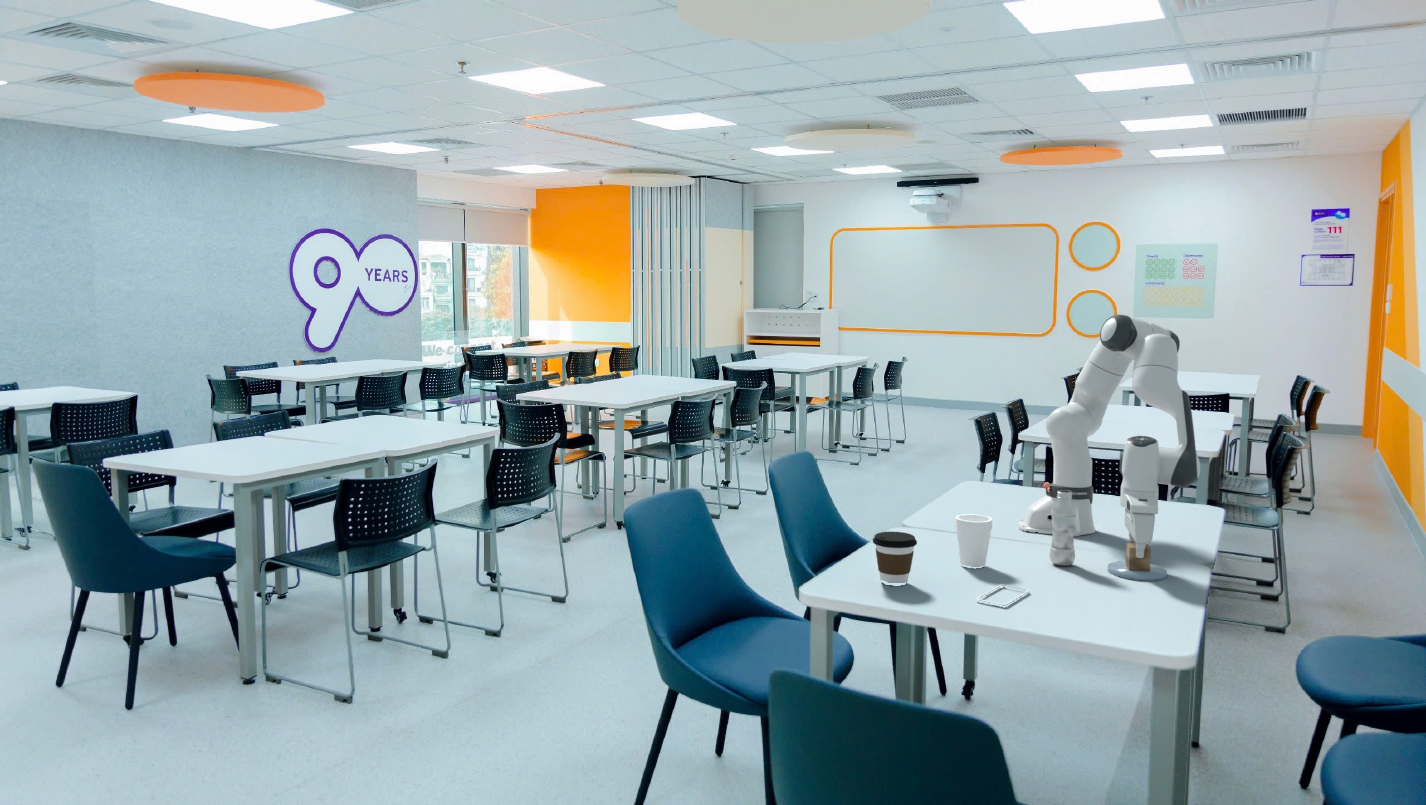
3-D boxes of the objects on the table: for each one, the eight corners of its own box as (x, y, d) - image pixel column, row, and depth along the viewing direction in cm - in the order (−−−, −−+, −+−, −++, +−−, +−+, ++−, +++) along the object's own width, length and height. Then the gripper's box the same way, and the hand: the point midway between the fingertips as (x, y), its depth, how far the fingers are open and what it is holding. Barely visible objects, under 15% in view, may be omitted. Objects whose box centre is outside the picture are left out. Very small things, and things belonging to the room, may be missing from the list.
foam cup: (993, 563, 250) (994, 516, 249) (988, 572, 242) (989, 523, 240) (957, 559, 254) (958, 512, 253) (951, 568, 246) (952, 520, 244)
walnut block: (1128, 570, 239) (1129, 547, 238) (1125, 565, 243) (1126, 542, 243) (1150, 571, 237) (1151, 548, 237) (1146, 566, 242) (1147, 544, 241)
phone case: (1005, 610, 213) (1030, 595, 224) (1005, 604, 213) (1030, 589, 224) (974, 604, 218) (1001, 589, 229) (975, 598, 218) (1001, 583, 229)
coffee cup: (890, 592, 225) (891, 543, 224) (863, 580, 235) (863, 533, 234) (925, 585, 230) (926, 538, 229) (897, 574, 240) (898, 529, 239)
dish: (1111, 578, 236) (1111, 573, 236) (1104, 563, 249) (1104, 559, 249) (1171, 582, 232) (1172, 578, 232) (1161, 567, 245) (1161, 563, 245)
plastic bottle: (1074, 562, 250) (1077, 489, 248) (1075, 569, 244) (1078, 494, 242) (1048, 560, 252) (1051, 488, 250) (1049, 567, 246) (1051, 493, 244)
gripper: (1119, 491, 249) (1117, 541, 251) (1131, 507, 230) (1129, 561, 231) (1145, 492, 248) (1142, 543, 249) (1159, 508, 228) (1156, 563, 230)
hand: (1136, 552), depth 240 cm, fingers open, 8 cm apart
